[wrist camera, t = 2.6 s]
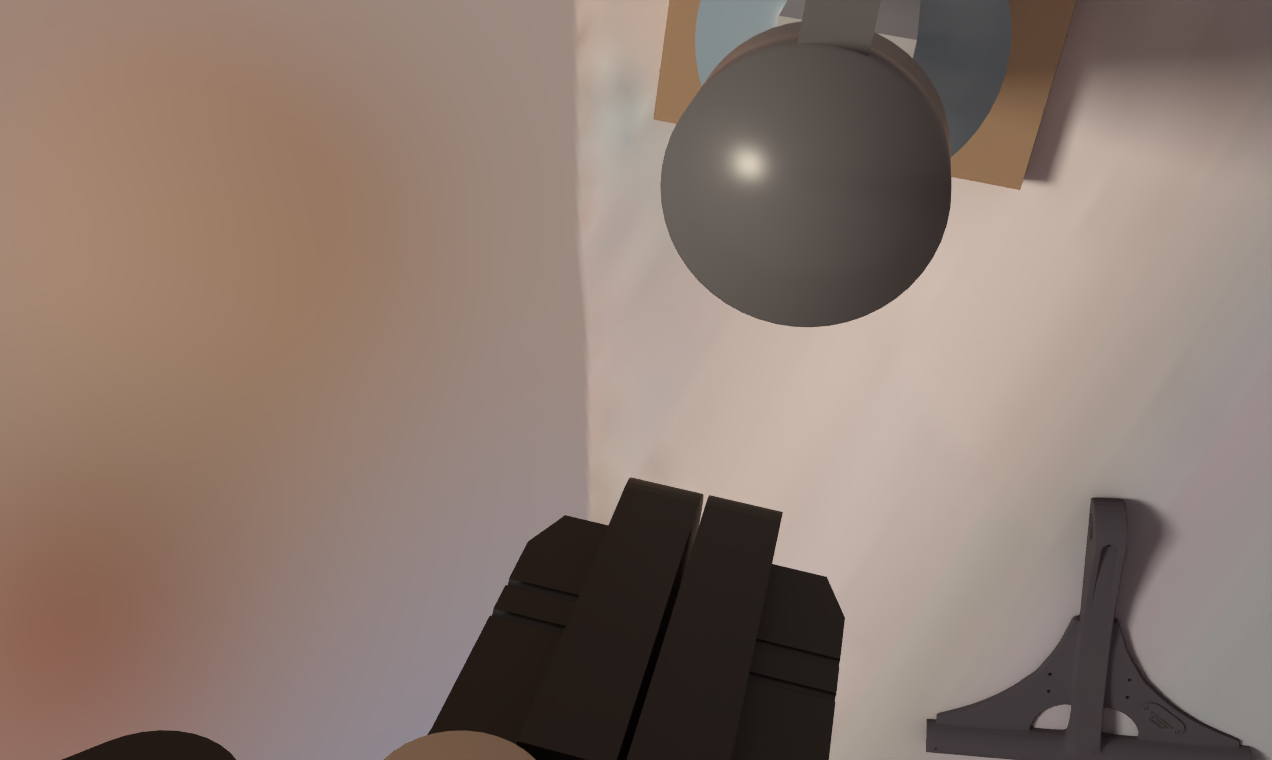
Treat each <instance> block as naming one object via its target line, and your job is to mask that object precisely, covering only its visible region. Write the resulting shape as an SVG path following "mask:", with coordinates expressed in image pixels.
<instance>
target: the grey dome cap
mask: <svg viewBox="0 0 1272 760" xmlns="http://www.w3.org/2000/svg"><path fill="white" fill-rule="evenodd" d="M880 4H881V0H806V2H805V7H804V12H803V18H802V21H800V22H793V23H788V24H784V25H781V26H777V27H774V28H771V29H769V30H766V31H764V32H762V33H760V34H757V35H755V36H753V37H752V38H750V39H748V40H747V41H745V42H744V43H742V44H740V45H739V46H738V47H737V48H735V49H734V50H733V51H732V52H730V53H729V54H728V55H727V56H726V57H725V58H724V59H723V60H722V61H721V62H720V63H719V64H718V65H717V66H716V67H715V68H714V70H713V71H712V72H711V74H710V75H709V77H708V78H707V80H706V81H705V82H704V84H703V85H702V87H701V88H700V90H699V91H698V93H697V94H696V95H695V97H694V98H693V100H692V101H691V103H690V104H689V106H688V107H687V108H686V110H685V111H684V113H683V114H682V116H681V117H680V119H679V121H678V123H677V125H676V127H675V129H674V130H673V132H672V134H671V137H670V140H669V143H668V146H667V148H666V151H665V156H664V161H663V165H662V173H661V202H662V208H663V213H664V218H665V222H666V225H667V228H668V231H669V234H670V237H671V240H672V242H673V244H674V246H675V248H676V250H677V252H678V254H679V255H680V257H681V258H682V260H683V261H684V263H685V264H686V266H687V268H688V269H689V270H690V271H691V272H692V274H693V275H694V276H695V277H696V278H697V279H698V281H699V282H700V283H701V284H702V285H704V286H705V287H706V288H707V289H708V290H709V291H710V292H711V293H712V294H714V295H715V296H716V297H718V298H719V299H721V300H722V301H723V302H725V303H726V304H728V305H730V306H732V307H733V308H735V309H737V310H739V311H741V312H742V313H745V314H747V315H750V316H752V317H755V318H757V319H760V320H764V321H767V322H771V323H775V324H780V325H787V326H794V327H819V326H830V325H835V324H839V323H844V322H848V321H851V320H854V319H857V318H860V317H863V316H866V315H868V314H870V313H872V312H874V311H876V310H878V309H880V308H882V307H883V306H885V305H886V304H888V303H890V302H891V301H893V300H894V299H896V298H897V297H898V296H899V295H901V294H902V293H903V292H904V291H905V290H906V289H908V288H909V287H910V286H911V285H912V284H913V283H914V282H915V280H916V279H917V278H918V277H919V276H920V275H921V274H922V273H923V271H924V270H925V268H926V267H927V265H928V264H929V263H930V261H931V260H932V258H933V256H934V254H935V252H936V250H937V248H938V246H939V244H940V242H941V240H942V237H943V234H944V231H945V228H946V225H947V221H948V216H949V211H950V203H951V143H950V132H949V126H948V121H947V117H946V112H945V110H944V107H943V104H942V102H941V99H940V97H939V94H938V93H937V91H936V89H935V87H934V85H933V84H932V82H931V80H930V79H929V77H928V76H927V75H926V73H925V72H924V71H923V69H922V68H921V67H920V65H919V64H918V63H917V62H916V61H915V60H914V59H913V58H912V57H911V56H910V55H909V54H908V53H906V52H905V51H904V50H903V49H901V48H900V47H899V46H897V45H896V44H895V43H893V42H892V41H890V40H888V39H886V38H885V37H883V36H881V35H879V34H877V33H875V32H874V31H875V27H876V22H877V18H878V13H879V9H880Z"/></svg>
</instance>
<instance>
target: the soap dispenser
mask: <svg viewBox="0 0 1272 760" xmlns="http://www.w3.org/2000/svg"><path fill="white" fill-rule="evenodd" d="M805 2H806V0H670V1H669V9H668V16H667V23H666V31H665V38H664V45H663V53H662V60H661V68H660V75H659V82H658V90H657V97H656V104H655V112H654V119H655V120H660V121H665V122H670V123H676V124H677V123H678V121H679V119H680V117H681V116H682V114H683V113H684V111H685V110H686V108H687V107H688V106H689V104H690V103H691V101H692V100H693V98H694V97H695V95H696V94H697V93H698V91H699V90H700V88H701V87H702V85H703V84H704V82H705V81H706V80H707V78H708V77H709V75H710V74H711V72H712V71H713V70H714V68H715V67H716V66H717V65H718V64H719V63H720V62H721V61H722V60H723V59H724V58H725V57H726V56H727V55H728V54H729V53H730V52H732V51H733V50H734V49H735V48H737V47H738V46H739V45H740V44H742V43H744V42H745V41H747V40H748V39H750V38H752V37H753V36H755V35H757V34H760V33H762V32H764V31H766V30H769V29H771V28H774V27H777V26H781V25H784V24H788V23H793V22H800V21H802V18H803V12H804V7H805ZM1076 2H1077V0H881V4H880V9H879V13H878V18H877V22H876V27H875V31H874V32H875V33H877V34H879V35H881V36H883V37H885V38H886V39H888V40H890V41H892V42H893V43H895V44H896V45H897V46H899V47H900V48H901V49H903V50H904V51H905V52H906V53H908V54H909V55H910V56H911V57H912V58H913V59H914V60H915V61H916V62H917V63H918V64H919V65H920V67H921V68H922V69H923V71H924V72H925V73H926V75H927V76H928V77H929V79H930V80H931V82H932V84H933V85H934V87H935V89H936V91H937V93H938V94H939V97H940V99H941V102H942V104H943V107H944V110H945V112H946V117H947V121H948V126H949V132H950V143H951V177H956V178H961V179H966V180H972V181H977V182H982V183H987V184H992V185H998V186H1003V187H1008V188H1013V189H1018V190H1020V189H1021V185H1022V182H1023V179H1024V175H1025V172H1026V169H1027V165H1028V162H1029V159H1030V155H1031V152H1032V149H1033V145H1034V142H1035V139H1036V135H1037V132H1038V129H1039V125H1040V122H1041V119H1042V115H1043V112H1044V109H1045V105H1046V102H1047V99H1048V95H1049V92H1050V89H1051V85H1052V82H1053V79H1054V75H1055V72H1056V69H1057V65H1058V62H1059V59H1060V55H1061V52H1062V49H1063V45H1064V42H1065V39H1066V35H1067V32H1068V29H1069V25H1070V22H1071V18H1072V15H1073V12H1074V8H1075V5H1076Z"/></svg>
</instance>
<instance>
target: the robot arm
mask: <svg viewBox="0 0 1272 760" xmlns="http://www.w3.org/2000/svg"><path fill="white" fill-rule="evenodd" d="M702 504H703V494H700V493H696V492H692V491H687V490H683V489H679V488H674V487H670V486H666V485H661V484H657V483H653V482H648V481H644V480H640V479H635V478H629V480H628V482H627V484H626V486H625V488H624V490H623V493H622V495H621V498H620V500H619V502H618V505H617V507H616V509H615V512H614V514H613V516H612V519H611V521H610V523H609V526H608V525H604V524H600V523H595V522H591V521H587V520H582V519H578V518H574V517H570V516H566V515H565V516H563V517H562V518H561V519H559V520H558V521H557V522H555V523H554V524H552V525H551V526H549V527H548V528H547V529H545V530H544V531H543V532H541V533H540V534H538V535H537V536H535V537H534V538H533V539H531V540H530V541H528V543H527V545H526V547H525V549H524V551H523V553H522V554H521V556H520V558H519V560H518V562H517V564H516V566H515V568H514V570H513V572H512V574H511V576H510V578H509V582H508V585H506V586H505V587H504V589H503V591H502V593H501V595H500V597H499V599H498V601H497V603H496V605H495V607H494V610H493V614H492V616H490V617H489V618H488V620H487V622H486V624H485V626H484V628H483V630H482V632H481V634H480V636H479V638H478V640H477V642H476V643H475V646H474V647H473V649H472V651H471V653H470V655H469V657H468V659H467V661H466V663H465V665H464V667H463V669H462V671H461V673H460V674H459V676H458V678H457V680H456V682H455V684H454V686H453V688H452V690H451V692H450V694H449V696H448V698H447V700H446V702H445V704H444V706H443V707H442V710H441V711H440V713H439V715H438V717H437V719H436V721H435V723H434V725H433V727H432V729H431V730H430V732H429V733H428V735H427V736H423V737H420V738H417V739H415V740H413V741H411V742H408V743H406V744H404V745H403V746H401V747H400V748H398V749H397V750H395V751H393V752H392V753H391V754H390V755H389V756H388V757H386V758H385V759H384V760H829V752H830V743H831V735H832V726H833V717H834V708H835V696H836V691H837V682H838V673H839V661H840V655H841V647H842V638H843V629H844V620H845V617H844V615H843V613H842V610H841V608H840V606H839V604H838V601H837V599H836V597H835V595H834V593H833V590H832V588H831V586H830V584H829V581H828V579H827V577H824V576H820V575H816V574H812V573H808V572H803V571H799V570H795V569H791V568H787V567H782V566H778V565H774V564H772V561H773V556H774V551H775V547H776V542H777V537H778V532H779V527H780V523H781V518H782V513H783V512H780V511H775V510H771V509H767V508H762V507H758V506H754V505H749V504H745V503H741V502H736V501H732V500H728V499H723V498H719V497H715V496H710V495H709V497H708V499H707V502H706V506H705V509H704V512H703V515H702V518H701V522H700V516H701V511H702ZM699 522H700V525H699ZM698 527H699V528H698ZM63 760H236V759H235V758H234V757H233V755H232V754H231V753H230V752H228V751H227V750H226V749H225V748H223V747H222V746H221V745H219V744H217V743H215V742H214V741H212V740H210V739H208V738H205V737H202V736H199V735H196V734H192V733H186V732H180V731H163V730H159V731H149V732H140V733H136V734H131V735H126V736H123V737H120V738H117V739H114V740H111V741H108V742H105V743H103V744H100V745H98V746H95V747H93V748H90V749H88V750H85V751H83V752H80V753H78V754H75V755H73V756H70V757H68V758H65V759H63Z"/></svg>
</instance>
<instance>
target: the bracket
mask: <svg viewBox="0 0 1272 760" xmlns="http://www.w3.org/2000/svg"><path fill="white" fill-rule="evenodd" d="M1126 550H1127V514H1126V507H1125V503H1124V500H1122V499H1103V498H1091V505H1090V516H1089V526H1088V536H1087V547H1086V557H1085V568H1084V579H1083V589H1082V600H1081V610H1080V616H1074V617H1073V618H1072V620H1071V622H1070V624H1069V626H1068V628H1067V630H1066V631H1065V633H1064V635H1063V637H1062V639H1061V640H1060V642H1059V644H1058V645H1057V646H1056V648H1055V649H1054V651H1053V652H1052V653H1051V654H1050V655H1049V657H1048V658H1047V659H1046V660H1045V661H1044V662H1043V663H1042V665H1041V666H1040V667H1039V668H1038V669H1037V670H1036V671H1035V672H1033V673H1032V674H1030V675H1029V676H1027V677H1026V678H1024V679H1023V680H1021V681H1020V682H1018V683H1017V684H1015V685H1013V686H1012V687H1010V688H1008V689H1006V690H1005V691H1003V692H1001V693H999V694H996V695H994V696H992V697H990V698H987V699H985V700H982V701H979V702H977V703H974V704H971V705H967V706H964V707H961V708H957V709H953V710H949V711H945V712H941V713H938V714H937V719H936V720H935V719H927V740H926V752H932V753H944V754H955V755H967V756H979V757H990V758H1002V759H1013V760H1252V756H1251V751H1250V747H1249V746H1244V745H1239V739H1237V738H1235V737H1233V736H1231V735H1228V734H1226V733H1224V732H1221V731H1219V730H1217V729H1214V728H1212V727H1210V726H1208V725H1206V724H1204V723H1202V722H1200V721H1198V720H1196V719H1194V718H1193V717H1191V716H1189V715H1188V714H1186V713H1184V712H1183V711H1181V710H1180V709H1178V708H1177V707H1176V706H1174V705H1173V704H1172V703H1170V702H1169V701H1168V700H1167V699H1165V698H1164V697H1163V696H1162V695H1161V694H1160V693H1159V692H1158V691H1156V690H1155V689H1154V688H1153V687H1152V686H1151V685H1150V684H1149V683H1148V682H1147V681H1146V680H1145V679H1144V678H1143V676H1142V675H1141V673H1140V672H1139V670H1138V668H1137V667H1136V665H1135V663H1134V662H1133V660H1132V658H1131V656H1130V654H1129V652H1128V650H1127V648H1126V645H1125V642H1124V639H1123V636H1122V632H1121V629H1120V626H1119V623H1118V620H1117V619H1114V613H1115V607H1116V601H1117V596H1118V591H1119V585H1120V580H1121V574H1122V569H1123V564H1124V560H1125V556H1126ZM1062 704H1069V705H1071V714H1070V720H1069V724H1068V727H1067V729H1064V730H1055V729H1041V728H1031V727H1030V725H1031V723H1032V721H1033V720H1034V718H1035V717H1036V716H1037V715H1038V714H1039V713H1040V712H1042V711H1044V710H1045V709H1047V708H1050V707H1053V706H1057V705H1062ZM1103 707H1108V708H1112V709H1115V710H1118V711H1120V712H1122V713H1124V714H1126V715H1127V716H1128V717H1130V718H1131V719H1132V720H1133V721H1134V723H1135V724H1136V726H1137V728H1138V732H1139V734H1138V736H1124V735H1113V734H1105V733H1102V732H1101V727H1102V715H1103Z"/></svg>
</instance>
